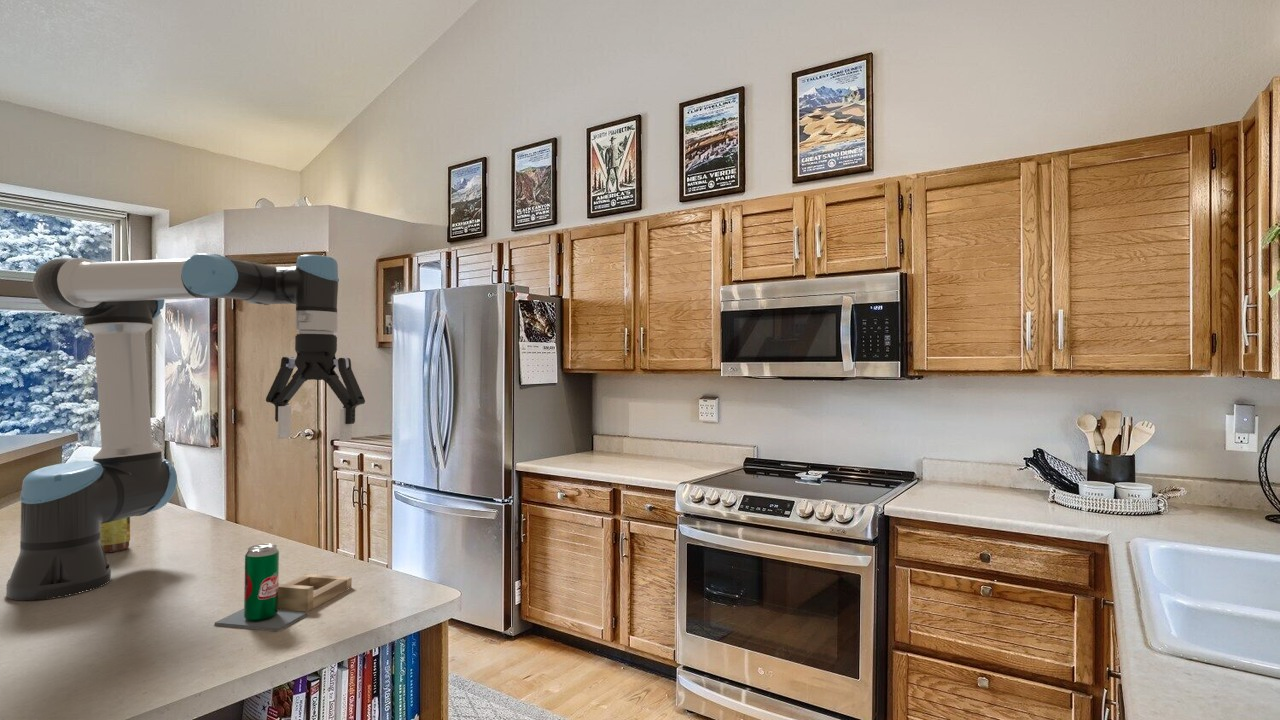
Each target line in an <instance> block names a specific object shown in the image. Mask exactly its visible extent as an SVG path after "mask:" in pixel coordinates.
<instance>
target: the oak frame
mask: <svg viewBox="0 0 1280 720" xmlns="http://www.w3.org/2000/svg"><path fill="white" fill-rule="evenodd" d="M352 579H353V578H352V577H351V576H340V575H325V574H315V573H313V574H311V573H304V574H303V575H302V574H301V576H298V577H296V578H294V579H292V580H289V581H287V582H285V583H278V610H283V611H295V612H306V613H308V612H309V611H311V610H314V609H315V608H317V607H319V606H321V605H323V604H324V603H326V602H328V601H330V600H331V598H332V599H333V598H335V597H337V596H339V595H340V593H341V594H342V593H344V592H346V591H348V590H349V589H348V588H350V589H352V585H353V584H352V581H353V580H352ZM315 587H318V588H317V589H316V590H314V589H315ZM347 589H348V590H347ZM345 590H346V591H345ZM343 591H344V592H343ZM338 594H339V595H338ZM322 603H323V604H322Z"/></svg>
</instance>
